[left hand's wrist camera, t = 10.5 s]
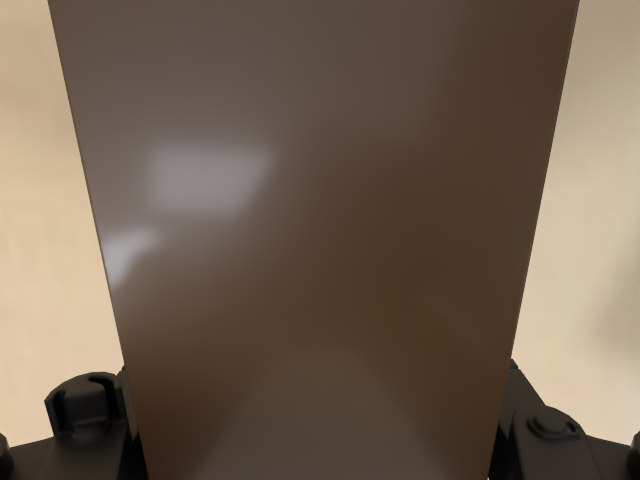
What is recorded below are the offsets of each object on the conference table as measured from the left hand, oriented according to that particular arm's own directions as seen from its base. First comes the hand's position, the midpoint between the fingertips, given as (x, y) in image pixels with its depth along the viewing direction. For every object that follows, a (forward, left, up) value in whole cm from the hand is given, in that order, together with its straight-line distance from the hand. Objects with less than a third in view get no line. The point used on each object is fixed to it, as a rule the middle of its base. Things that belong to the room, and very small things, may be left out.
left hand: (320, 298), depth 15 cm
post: (+13, -15, 0) cm, 20 cm away
